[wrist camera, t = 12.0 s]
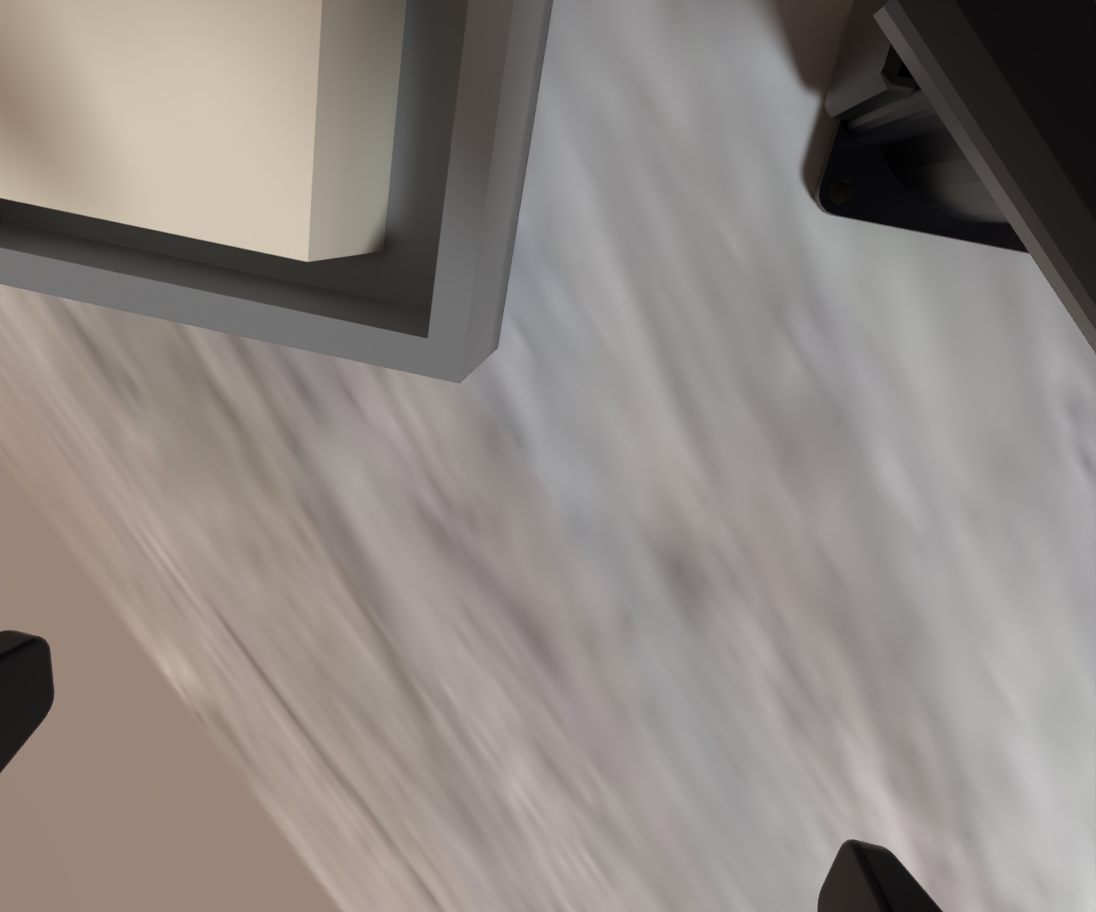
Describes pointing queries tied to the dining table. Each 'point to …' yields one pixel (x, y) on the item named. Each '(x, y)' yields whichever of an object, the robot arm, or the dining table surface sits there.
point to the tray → (359, 280)
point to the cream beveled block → (206, 117)
